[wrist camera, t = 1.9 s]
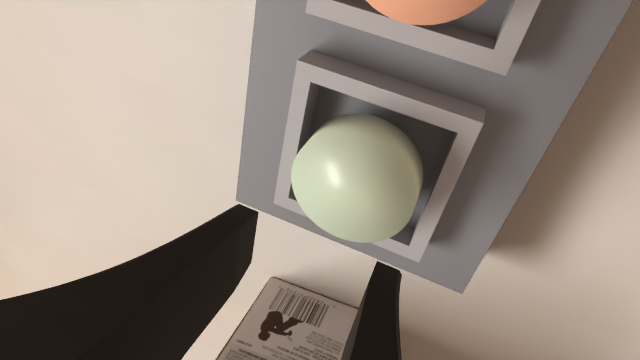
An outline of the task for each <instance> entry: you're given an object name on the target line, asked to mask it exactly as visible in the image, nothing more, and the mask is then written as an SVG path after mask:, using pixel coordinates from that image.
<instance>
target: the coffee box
mask: <svg viewBox="0 0 640 360" xmlns="http://www.w3.org/2000/svg"><path fill="white" fill-rule="evenodd" d="M357 312H358V309H356V308H353V307H350V306H348V305H345V304H342V303H340V302H337V301H334V300H331V299H329V298H326V297H324V296H321V295H318V294H316V293H313V292H310V291H308V290H305V289H302V288H300V287H297V286H295V285H292V284H289V283H286V282H284V281H281V280H279V279H276V278H270V279H269V280H268V282H267V283H266V284H265V286H264V288H263V289H262V291H261V292H260V294H259V295H258V297H257V298H256V300H255V301H254V303H253V304H252V306H251V307H250V309H249V310H248V312H247V313H246V315H245V316H244V318H243V319H242V321H241V322H240V324H239V325H238V327H237V328H236V330H235V331H234V333H233V334H232V336H231V337H230V339H229V340H228V342H227V343H226V345H225V346H224V348H223V349H222V351H221V352H220V354H219V355H218V357H217V358H216V360H341V357H342V353H343V350H344V347H345V343H346V340H347V338H348V335H349V333H350V330H351V327H352V325H353V322H354V320H355V317H356V314H357Z"/></svg>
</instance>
